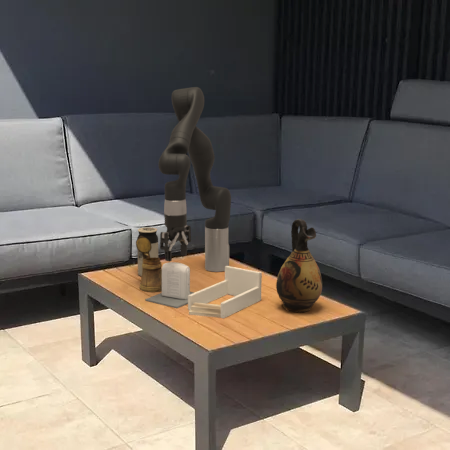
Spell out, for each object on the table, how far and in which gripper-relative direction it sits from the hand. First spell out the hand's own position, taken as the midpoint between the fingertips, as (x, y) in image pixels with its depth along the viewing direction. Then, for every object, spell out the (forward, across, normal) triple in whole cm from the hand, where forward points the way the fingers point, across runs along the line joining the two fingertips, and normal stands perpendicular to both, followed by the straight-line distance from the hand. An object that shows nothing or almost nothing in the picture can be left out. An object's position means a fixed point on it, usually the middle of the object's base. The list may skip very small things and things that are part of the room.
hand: (176, 258), depth 247 cm
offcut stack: (+15, +7, +18) cm, 24 cm away
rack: (+15, -4, +18) cm, 23 cm away
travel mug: (+15, -17, -27) cm, 35 cm away
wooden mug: (+15, -5, -16) cm, 22 cm away
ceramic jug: (+15, -16, +39) cm, 45 cm away
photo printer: (+14, 0, 0) cm, 14 cm away
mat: (+14, 0, 0) cm, 15 cm away
